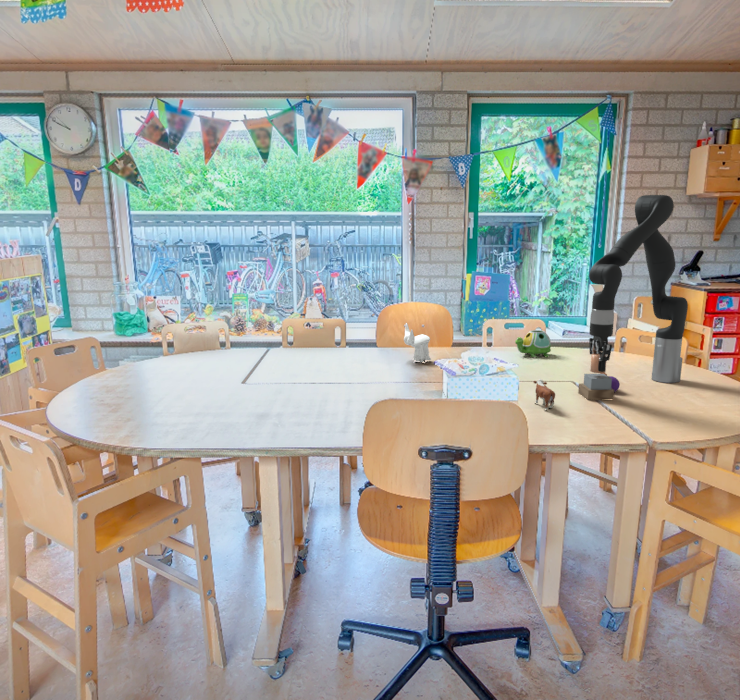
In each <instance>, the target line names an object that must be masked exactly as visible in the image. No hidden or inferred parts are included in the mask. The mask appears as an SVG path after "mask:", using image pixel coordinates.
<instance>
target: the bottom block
mask: <svg viewBox="0 0 740 700" xmlns="http://www.w3.org/2000/svg"><path fill="white" fill-rule="evenodd" d="M577 393H578V395H580V396H581V395H582V396H581V397H582V398H584V399H585V398H586V400H587V401H603V400H602V399H614V398H615V392H614V390H613V389H612V388H611V390H591V389H589V388H588V387H586V386H585V385H584V383H578V392H577Z"/></svg>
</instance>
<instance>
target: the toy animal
mask: <svg viewBox="0 0 740 700" xmlns="http://www.w3.org/2000/svg"><path fill="white" fill-rule="evenodd" d="M430 341H431V338H430V336H428V335H426V334H423V333H422V334H418V335H416V336H415V334H414V330H413V329H410V328H409V324H408V323H407V322H405V327H404V337H403V342H404V344H405V345H407V346H410V347H412V348H413V349H414V353H413V357H412V359H413V358H414V360H416V361H420V363H421V362H423V361H425V360H432V358H431V357H430V351H429V343H430Z"/></svg>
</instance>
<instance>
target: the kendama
mask: <svg viewBox="0 0 740 700" xmlns="http://www.w3.org/2000/svg"><path fill="white" fill-rule="evenodd" d="M599 374H605V375H607V376H608V374H607V373H606V372H605V373H599ZM609 377H610V378H612V383H611V388H612V389H613V390H614V393H616V392H617V391H618V390H619V388H620V381H619V380H618V378H617V377H614V376H610V375H609Z"/></svg>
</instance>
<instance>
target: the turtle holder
mask: <svg viewBox="0 0 740 700" xmlns="http://www.w3.org/2000/svg"><path fill="white" fill-rule="evenodd" d="M515 344H516V348H517V350H518V352H520V353H521V354H524V353H527V354H530V357H531V358H533V357H537V358H538V356H537V354H539V355H543V357H545V356H547V357H548V356H549V357H550V354H548V353H550V352H551V351H552V349H551V348H552V342H551V338H550V337H549V335H548V334H547V332H546V331H545V330H542V329H539V330H537V329H536V330H534V329H533V330H532V329H531V330H529V331H528V333H527V334H525V336H524V338H522V337H520V336H518V337H517V338H516V340H515ZM547 357H546V358H547ZM549 357H548V358H549Z"/></svg>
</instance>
